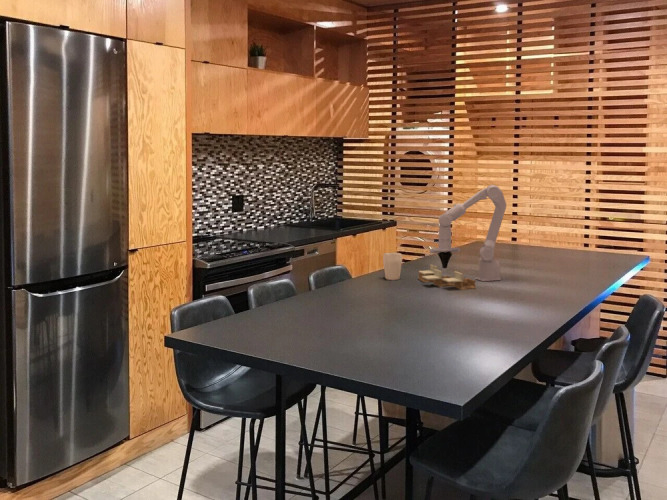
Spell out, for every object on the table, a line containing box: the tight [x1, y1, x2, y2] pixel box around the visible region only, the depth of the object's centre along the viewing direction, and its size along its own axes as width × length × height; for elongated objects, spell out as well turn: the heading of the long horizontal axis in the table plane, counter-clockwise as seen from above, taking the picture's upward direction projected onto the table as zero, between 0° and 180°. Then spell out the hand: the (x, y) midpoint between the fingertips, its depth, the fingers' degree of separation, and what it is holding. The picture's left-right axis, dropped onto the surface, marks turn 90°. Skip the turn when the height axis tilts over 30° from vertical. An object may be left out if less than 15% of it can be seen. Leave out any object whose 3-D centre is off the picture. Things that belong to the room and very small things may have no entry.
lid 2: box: [422, 269, 443, 280], centre depth 301 cm, size 7×7×3 cm
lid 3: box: [442, 271, 464, 282], centre depth 294 cm, size 7×7×3 cm
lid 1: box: [418, 264, 439, 275], centre depth 315 cm, size 7×7×3 cm
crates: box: [418, 272, 476, 290], centre depth 306 cm, size 15×29×3 cm, turn 15°
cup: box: [382, 252, 403, 281], centre depth 321 cm, size 9×9×12 cm
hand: (444, 267), depth 317 cm, fingers closed
